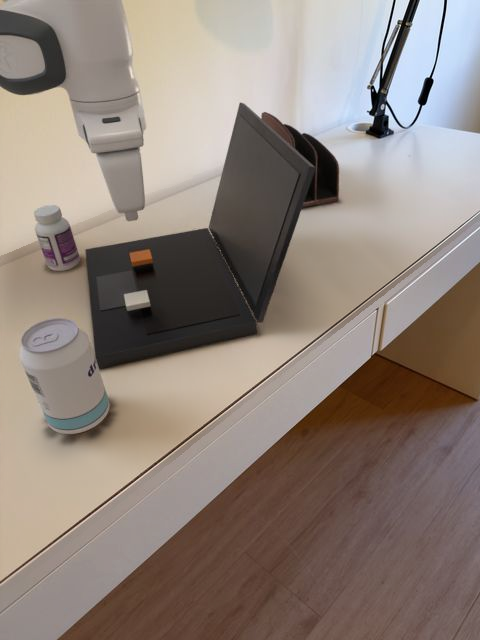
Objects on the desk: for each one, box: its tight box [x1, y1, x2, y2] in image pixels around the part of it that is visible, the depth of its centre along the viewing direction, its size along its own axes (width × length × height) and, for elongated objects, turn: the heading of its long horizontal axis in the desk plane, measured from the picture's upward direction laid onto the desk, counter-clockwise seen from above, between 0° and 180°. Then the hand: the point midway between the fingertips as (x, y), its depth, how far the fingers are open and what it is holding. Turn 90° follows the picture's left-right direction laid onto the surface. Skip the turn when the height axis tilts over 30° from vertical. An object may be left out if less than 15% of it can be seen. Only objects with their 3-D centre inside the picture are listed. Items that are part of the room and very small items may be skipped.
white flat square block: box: [124, 290, 151, 311], centre depth 73 cm, size 3×3×1 cm
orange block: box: [129, 249, 153, 266], centre depth 82 cm, size 3×3×1 cm
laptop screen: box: [207, 102, 316, 323], centre depth 76 cm, size 21×30×1 cm
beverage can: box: [19, 317, 111, 435], centre depth 56 cm, size 7×7×12 cm
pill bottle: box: [33, 204, 81, 272], centre depth 85 cm, size 5×5×10 cm
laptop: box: [85, 227, 258, 370], centre depth 79 cm, size 21×30×2 cm
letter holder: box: [260, 111, 340, 209], centre depth 105 cm, size 10×20×14 cm, turn 17°
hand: (131, 216), depth 77 cm, fingers closed
